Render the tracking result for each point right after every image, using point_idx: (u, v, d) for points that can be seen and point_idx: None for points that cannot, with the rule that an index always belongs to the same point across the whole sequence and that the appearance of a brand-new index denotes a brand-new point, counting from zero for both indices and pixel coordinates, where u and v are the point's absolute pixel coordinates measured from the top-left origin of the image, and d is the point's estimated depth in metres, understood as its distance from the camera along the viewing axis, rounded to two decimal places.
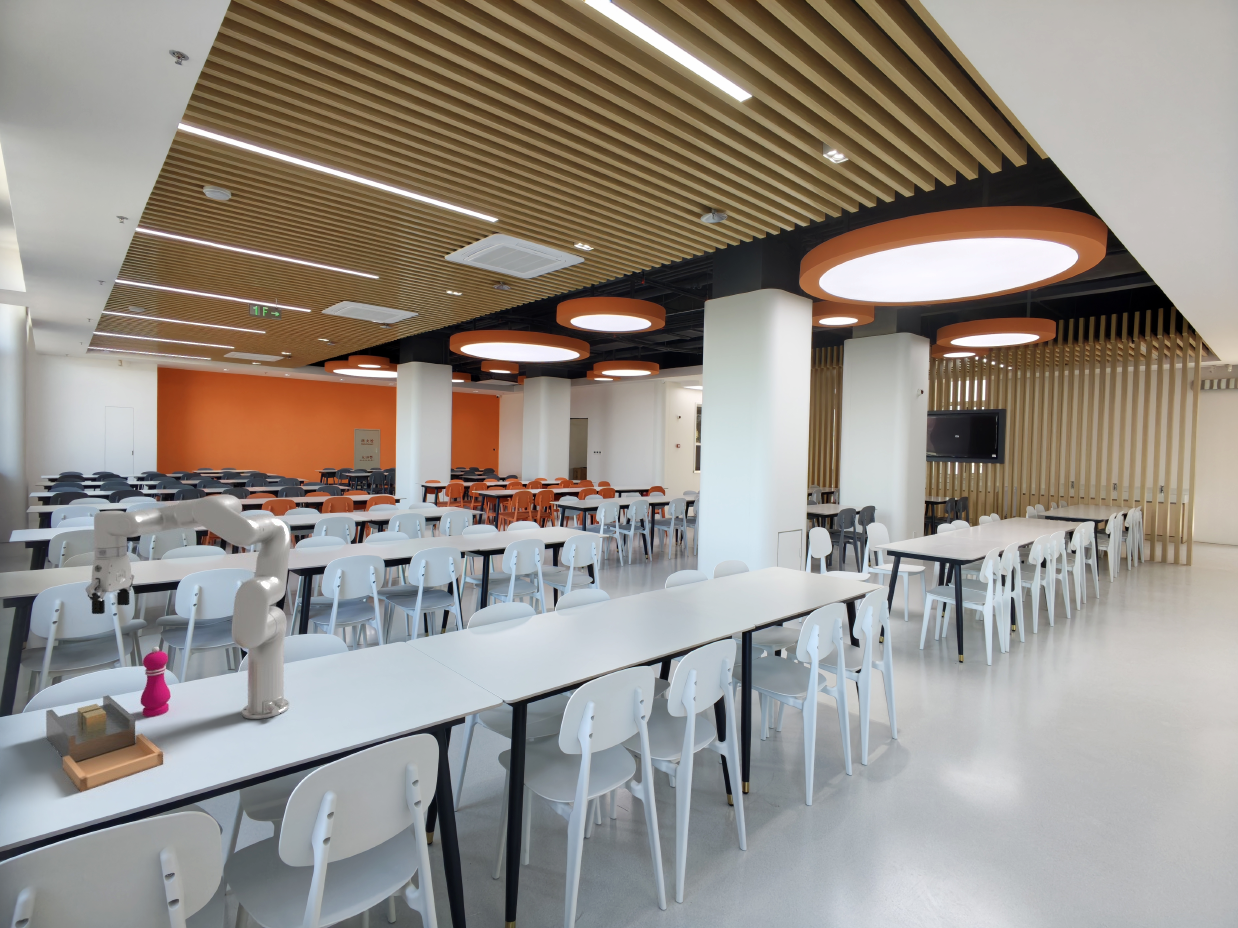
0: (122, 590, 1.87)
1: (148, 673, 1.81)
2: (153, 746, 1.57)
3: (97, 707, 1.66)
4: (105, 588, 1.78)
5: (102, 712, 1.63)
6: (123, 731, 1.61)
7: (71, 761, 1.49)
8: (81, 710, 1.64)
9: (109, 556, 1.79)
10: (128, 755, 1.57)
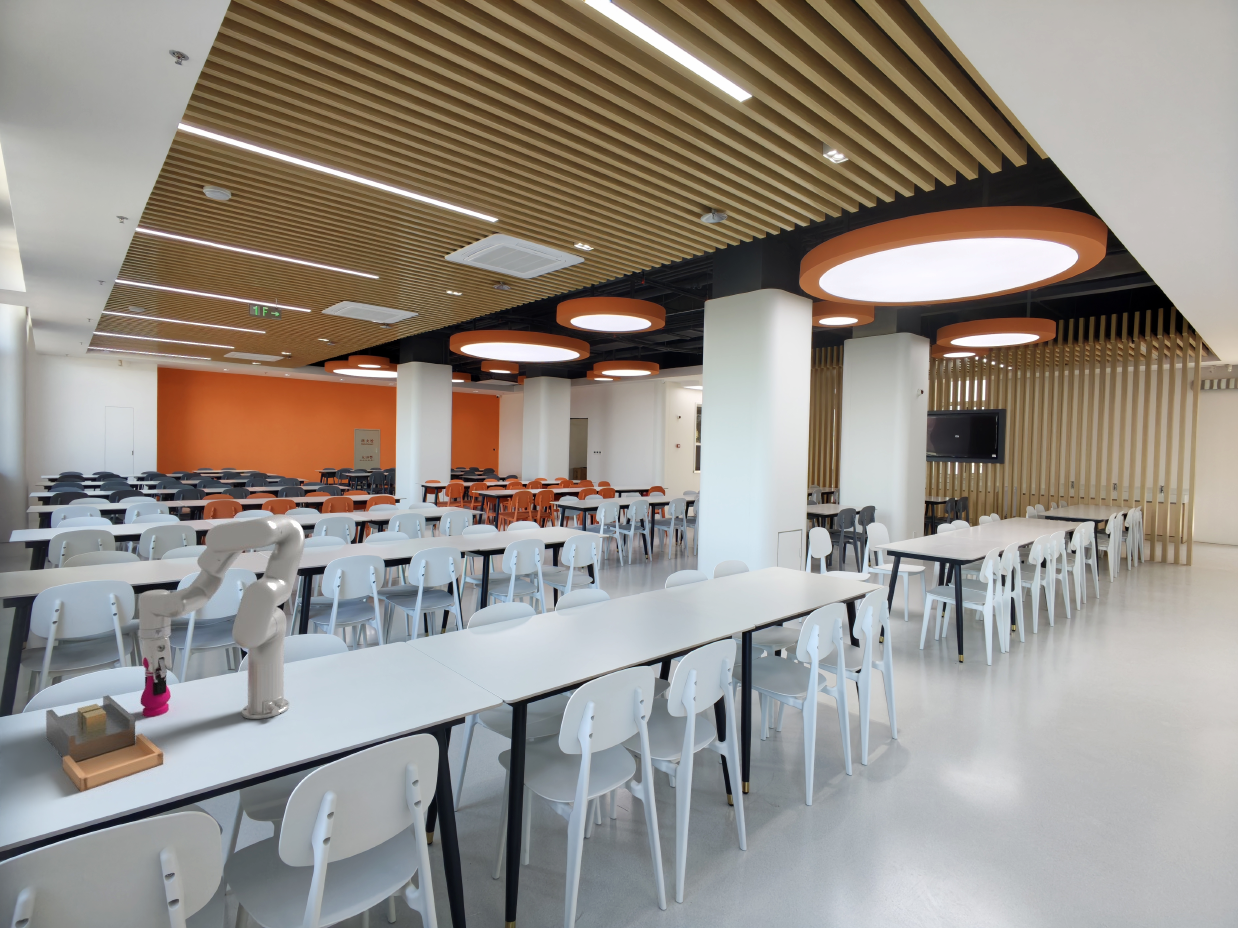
0: None
1: (148, 673, 1.81)
2: (153, 746, 1.57)
3: (97, 707, 1.66)
4: (169, 665, 1.82)
5: (102, 712, 1.63)
6: (123, 731, 1.61)
7: (71, 761, 1.49)
8: (81, 710, 1.64)
9: (166, 634, 1.83)
10: (128, 755, 1.57)
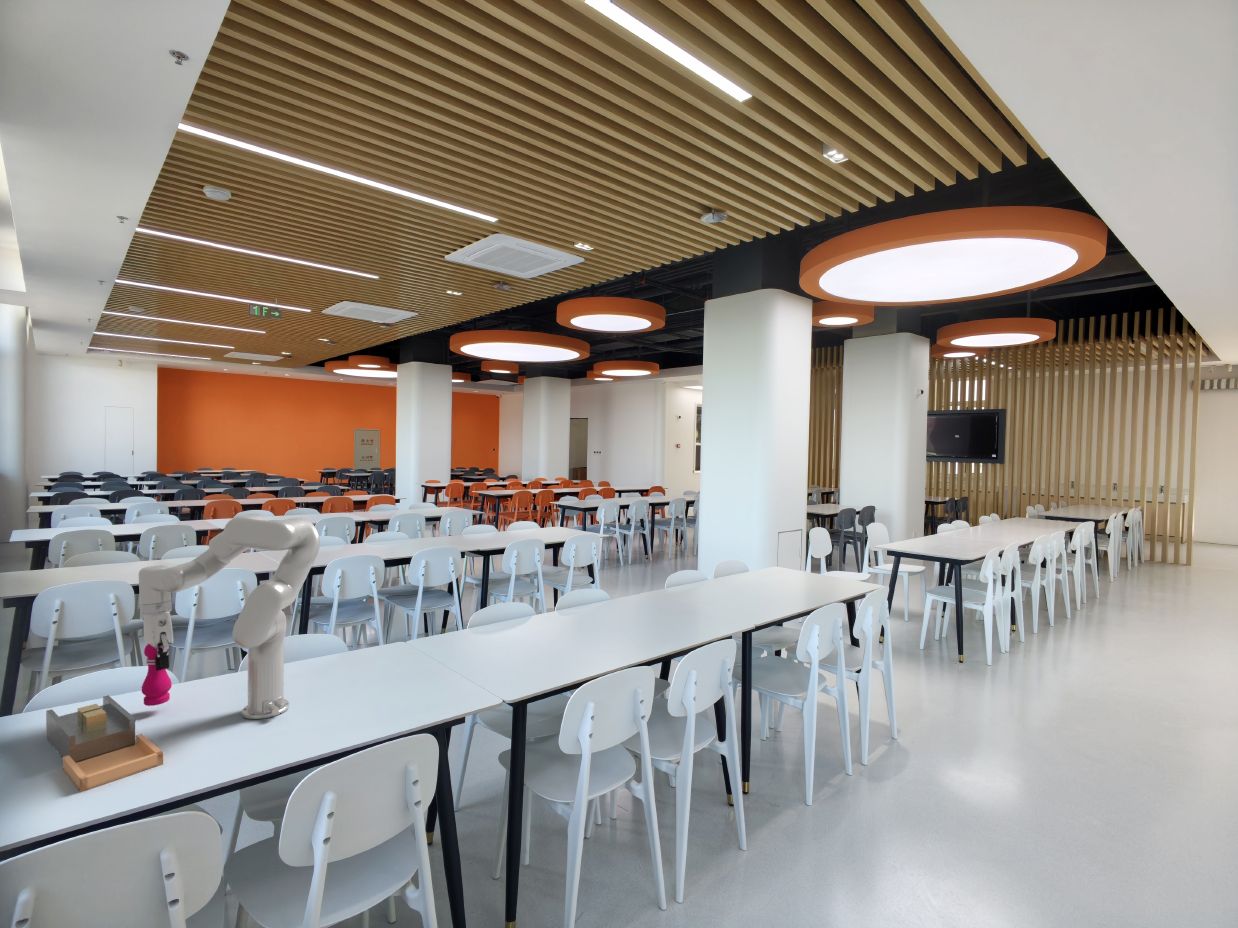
0: None
1: (149, 662, 1.81)
2: (153, 746, 1.57)
3: (97, 707, 1.66)
4: (171, 640, 1.82)
5: (102, 712, 1.63)
6: (123, 731, 1.61)
7: (71, 761, 1.49)
8: (81, 710, 1.64)
9: (167, 609, 1.83)
10: (128, 755, 1.57)
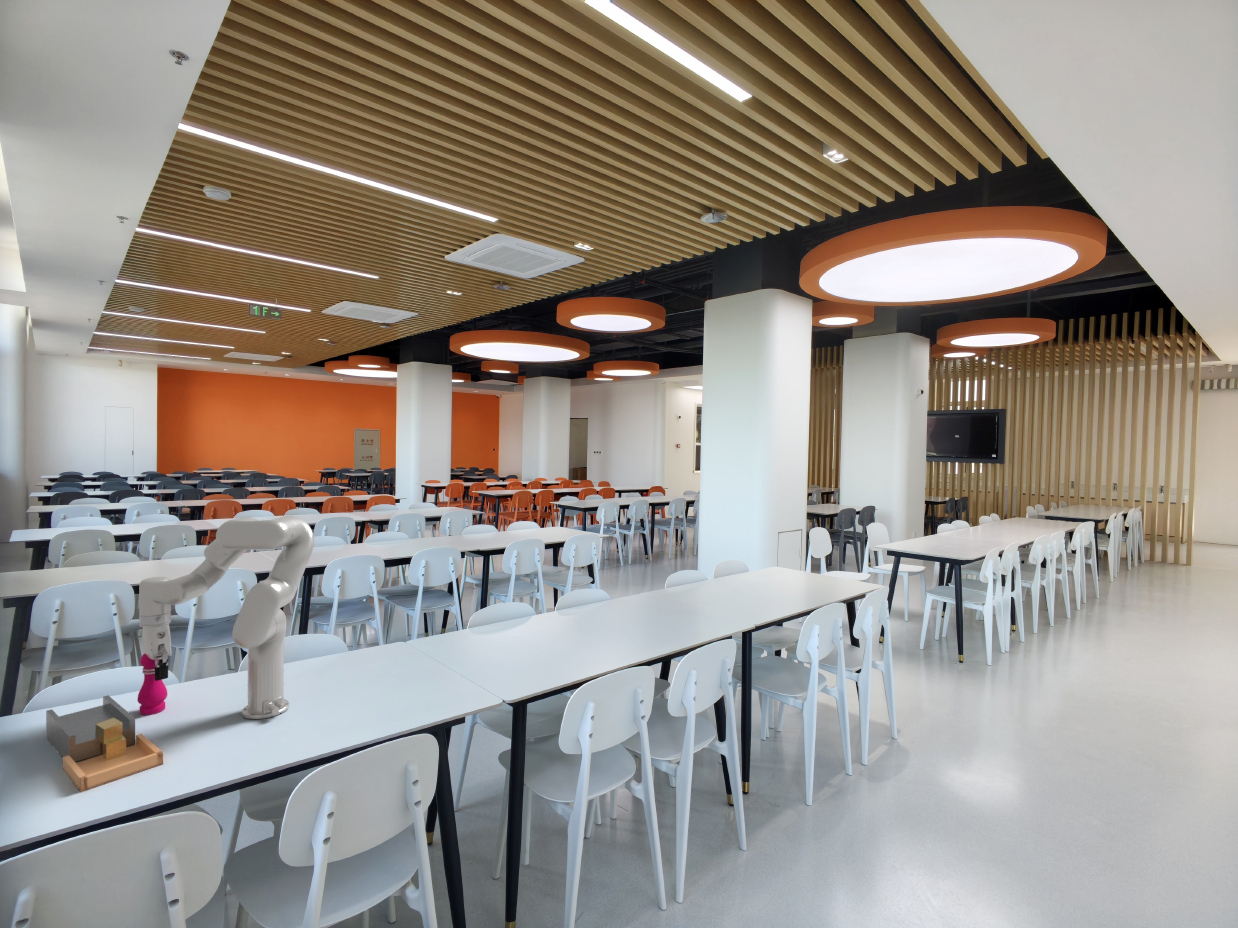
0: None
1: (146, 672, 1.82)
2: (153, 746, 1.57)
3: (118, 722, 1.58)
4: (169, 652, 1.82)
5: (123, 752, 1.57)
6: (123, 731, 1.61)
7: (71, 761, 1.49)
8: (102, 726, 1.56)
9: (166, 621, 1.83)
10: (128, 755, 1.57)
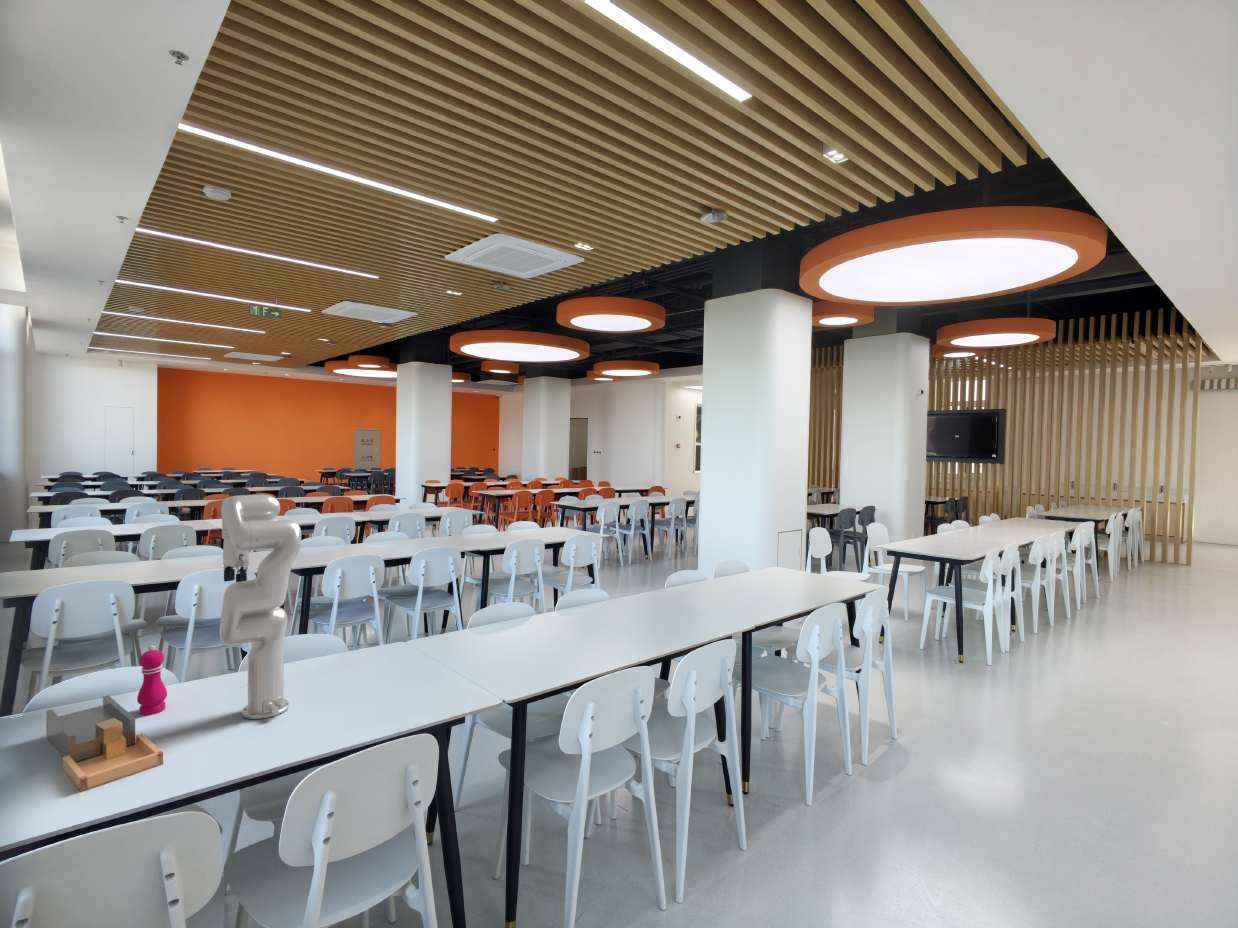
0: (229, 568, 2.13)
1: (145, 672, 1.82)
2: (153, 746, 1.57)
3: (118, 722, 1.58)
4: (248, 562, 2.09)
5: (123, 752, 1.57)
6: (123, 731, 1.61)
7: (71, 761, 1.49)
8: (102, 726, 1.56)
9: None
10: (128, 755, 1.57)
